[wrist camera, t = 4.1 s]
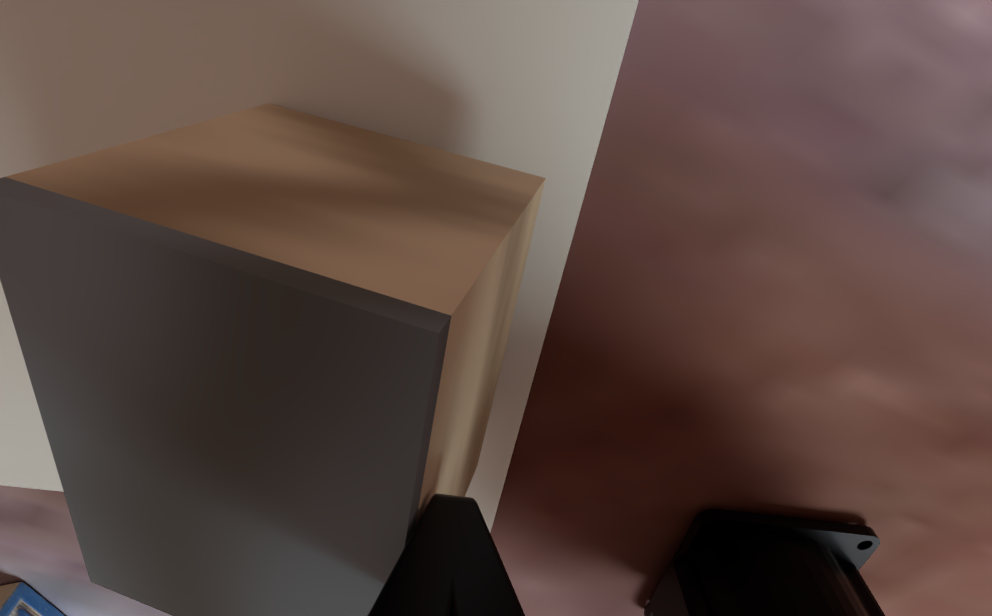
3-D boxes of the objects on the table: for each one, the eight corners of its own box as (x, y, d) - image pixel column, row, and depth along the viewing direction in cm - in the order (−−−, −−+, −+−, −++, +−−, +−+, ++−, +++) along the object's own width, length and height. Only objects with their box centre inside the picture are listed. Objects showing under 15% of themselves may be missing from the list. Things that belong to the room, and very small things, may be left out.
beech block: (546, 178, 11) (438, 334, 6) (477, 465, 15) (379, 700, 10) (268, 103, 12) (-29, 186, 7) (274, 395, 16) (90, 581, 11)
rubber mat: (663, -111, 11) (669, -113, 10) (489, 525, 20) (489, 535, 20) (-923, -489, 8) (-984, -506, 8) (-272, 445, 17) (-286, 455, 17)
